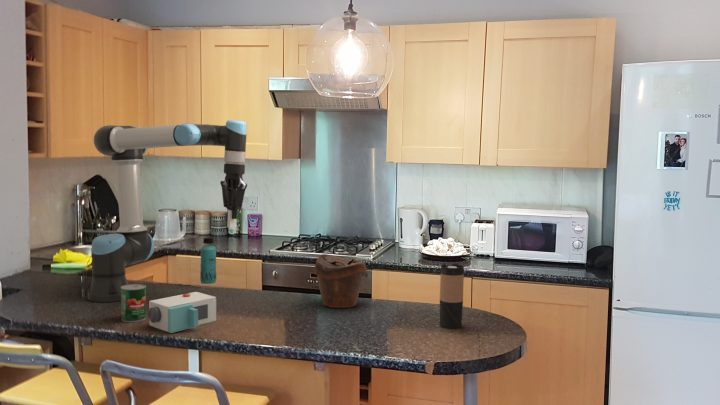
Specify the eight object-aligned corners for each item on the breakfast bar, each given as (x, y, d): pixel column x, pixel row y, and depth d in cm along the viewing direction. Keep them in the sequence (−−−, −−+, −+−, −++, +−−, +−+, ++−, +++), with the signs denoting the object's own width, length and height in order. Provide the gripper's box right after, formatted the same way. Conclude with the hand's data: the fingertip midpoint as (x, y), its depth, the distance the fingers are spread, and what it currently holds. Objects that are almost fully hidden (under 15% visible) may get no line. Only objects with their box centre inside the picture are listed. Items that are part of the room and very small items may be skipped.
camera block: (145, 326, 207) (144, 300, 206) (196, 314, 222) (196, 290, 221) (164, 333, 199) (164, 306, 199) (216, 320, 214) (216, 295, 213)
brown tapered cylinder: (369, 309, 231) (369, 260, 230) (313, 310, 230) (313, 260, 228) (365, 298, 249) (366, 252, 247) (313, 299, 247) (313, 252, 246)
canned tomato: (135, 323, 210) (134, 290, 209) (116, 320, 213) (115, 287, 212) (151, 317, 217) (150, 285, 216) (132, 314, 220) (131, 283, 219)
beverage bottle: (197, 286, 263) (196, 238, 261) (206, 283, 269) (206, 236, 268) (210, 288, 261) (210, 239, 259) (219, 285, 267) (219, 237, 265)
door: (167, 332, 200) (167, 308, 199) (189, 326, 206) (189, 303, 205) (176, 335, 197) (175, 311, 196) (198, 329, 203) (198, 306, 202)
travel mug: (456, 330, 208) (458, 269, 206) (435, 326, 212) (436, 266, 210) (465, 324, 215) (467, 265, 213) (444, 320, 219) (446, 262, 217)
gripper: (254, 164, 234) (250, 229, 235) (231, 162, 242) (228, 224, 244) (237, 164, 228) (234, 230, 230) (215, 161, 236) (212, 225, 238)
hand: (231, 227), depth 237 cm, fingers closed
